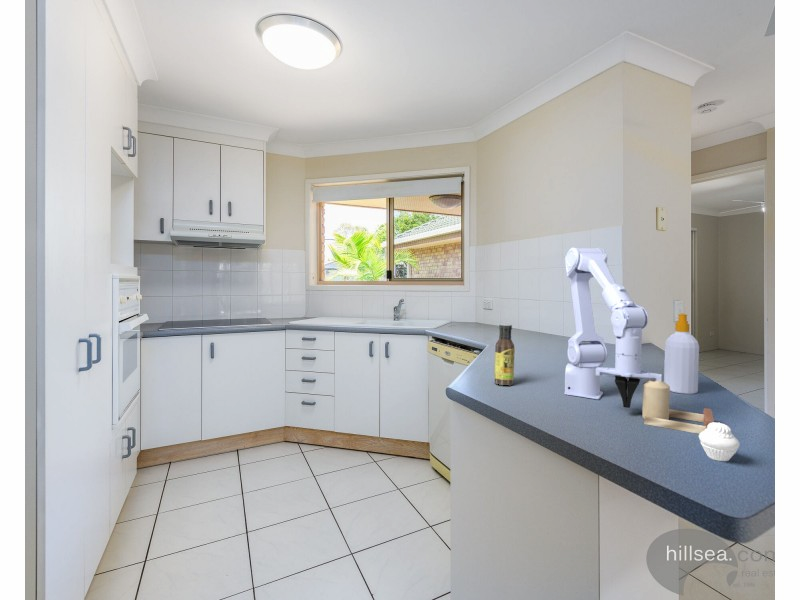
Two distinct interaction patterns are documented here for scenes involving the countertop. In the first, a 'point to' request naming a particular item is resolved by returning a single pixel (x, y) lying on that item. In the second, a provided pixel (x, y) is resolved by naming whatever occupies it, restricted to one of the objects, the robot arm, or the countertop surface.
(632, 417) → the countertop surface
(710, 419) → the channel
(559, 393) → the countertop surface
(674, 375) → the soap bottle
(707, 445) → the muffin
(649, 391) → the candle
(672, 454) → the countertop surface
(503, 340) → the sauce bottle
